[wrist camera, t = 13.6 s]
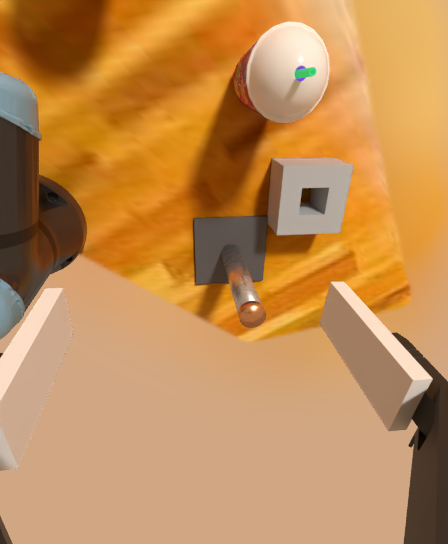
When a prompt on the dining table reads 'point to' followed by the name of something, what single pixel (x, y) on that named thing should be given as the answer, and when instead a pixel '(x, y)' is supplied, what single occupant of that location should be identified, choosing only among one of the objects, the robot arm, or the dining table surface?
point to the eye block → (323, 202)
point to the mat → (223, 232)
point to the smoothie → (284, 73)
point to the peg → (242, 288)
